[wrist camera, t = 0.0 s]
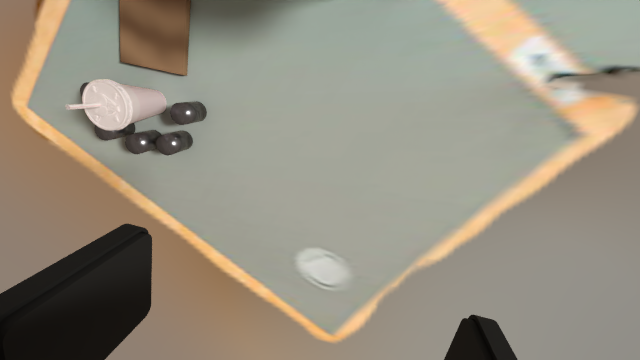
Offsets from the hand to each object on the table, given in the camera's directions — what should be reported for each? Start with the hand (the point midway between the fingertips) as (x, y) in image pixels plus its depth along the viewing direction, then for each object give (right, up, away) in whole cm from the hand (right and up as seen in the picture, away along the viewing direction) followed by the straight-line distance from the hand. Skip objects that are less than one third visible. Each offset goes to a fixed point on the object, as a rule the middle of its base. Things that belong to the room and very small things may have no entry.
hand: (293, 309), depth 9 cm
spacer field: (-26, +13, +39) cm, 48 cm away
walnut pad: (-23, +25, +35) cm, 49 cm away
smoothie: (-25, +16, +38) cm, 48 cm away
